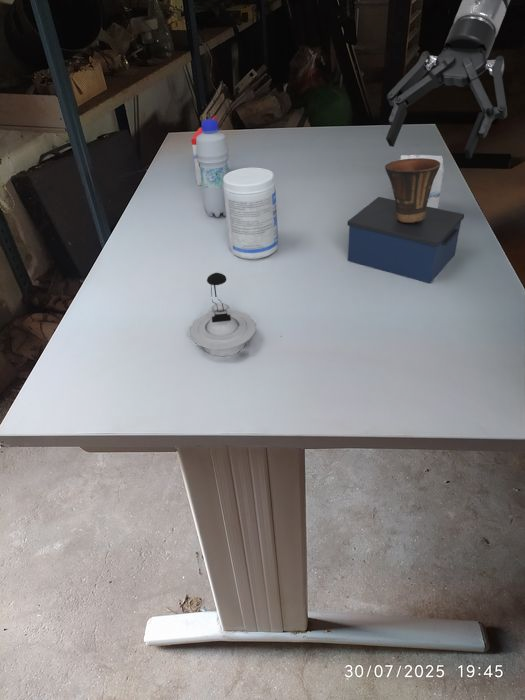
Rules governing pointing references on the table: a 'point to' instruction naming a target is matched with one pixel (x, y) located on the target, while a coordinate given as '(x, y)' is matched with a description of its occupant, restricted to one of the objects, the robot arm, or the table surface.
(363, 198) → the table surface
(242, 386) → the table surface
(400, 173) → the cup
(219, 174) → the bottle
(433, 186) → the ink box
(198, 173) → the spray bottle
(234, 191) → the supplement tub
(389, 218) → the storage box
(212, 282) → the round stand with stem
